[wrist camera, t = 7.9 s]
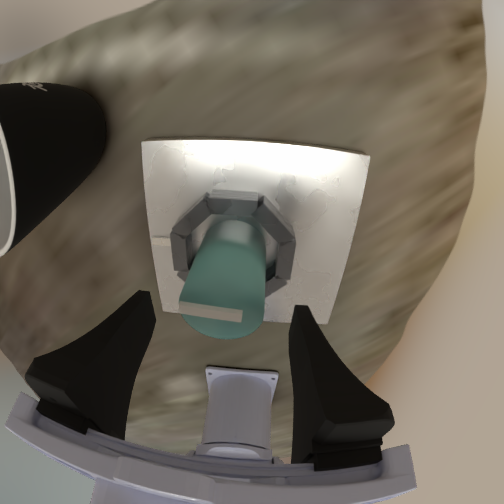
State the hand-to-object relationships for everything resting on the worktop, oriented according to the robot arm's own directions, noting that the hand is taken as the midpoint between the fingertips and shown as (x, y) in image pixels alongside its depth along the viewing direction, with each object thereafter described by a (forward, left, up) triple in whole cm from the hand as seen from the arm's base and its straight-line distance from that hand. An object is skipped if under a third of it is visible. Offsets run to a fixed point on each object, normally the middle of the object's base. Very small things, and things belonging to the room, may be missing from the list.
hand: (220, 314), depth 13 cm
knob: (0, 0, -6) cm, 6 cm away
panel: (0, -1, -8) cm, 8 cm away
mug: (+8, +14, -8) cm, 18 cm away
